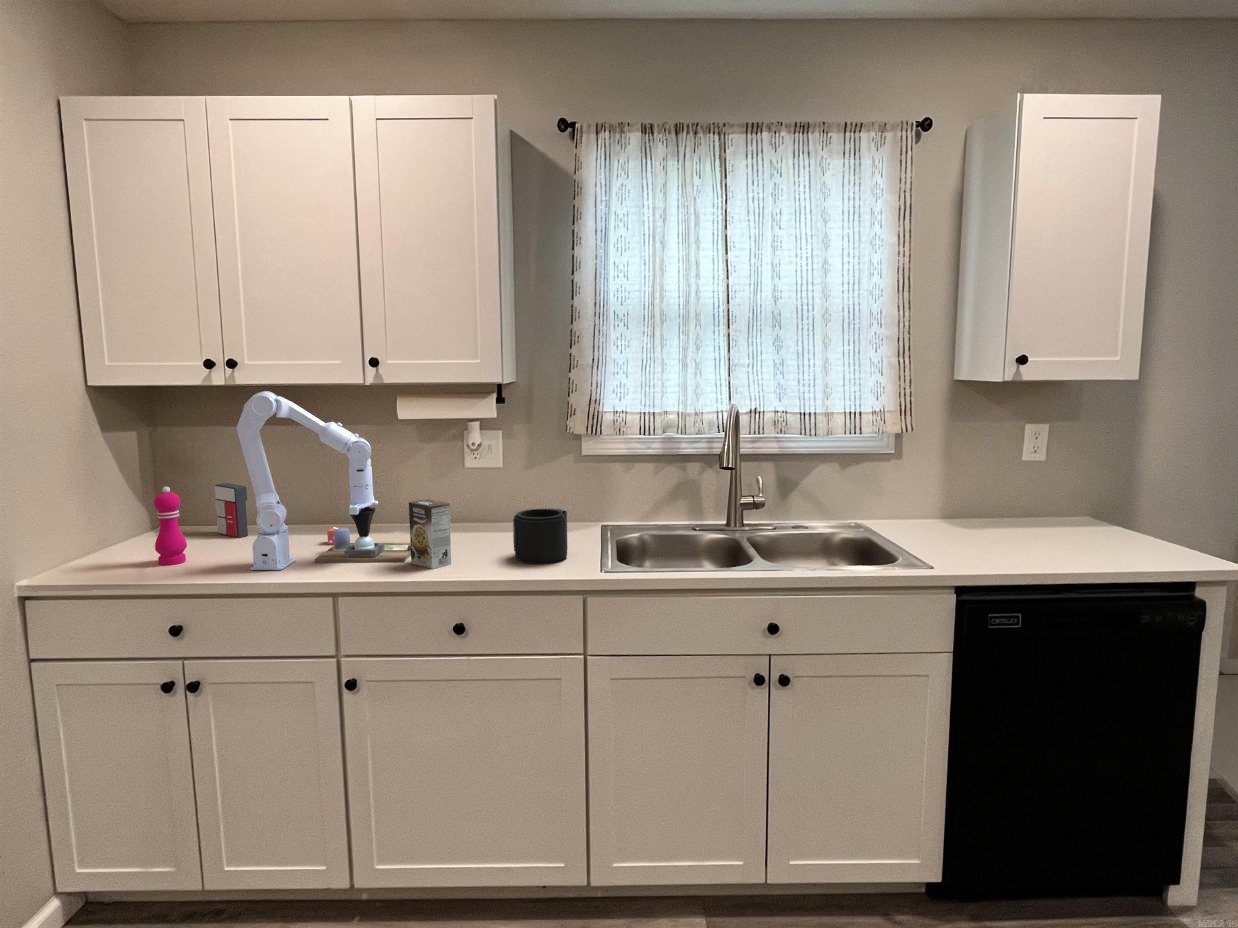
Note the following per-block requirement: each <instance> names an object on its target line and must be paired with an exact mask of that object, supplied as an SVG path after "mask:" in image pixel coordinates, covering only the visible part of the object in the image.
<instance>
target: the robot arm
mask: <svg viewBox="0 0 1238 928" xmlns="http://www.w3.org/2000/svg"><path fill="white" fill-rule="evenodd" d="M275 414H276V415H275ZM274 415H275V417H276V418H284V419H285V418H288V419H291V420H293V421H295V422H297V423H298V424H300V425H302V426H304V427H306V428H308V429H310V430H312V431H313V432H315V433H317V434H318V437H319V440H320V442H322V443H323V444H326V445H327V446H329V447H331V448H332V449H334V450H336V451H337V452H339V453H341V454H346V456H347V458H348V459H349V468H348V477H349V479H348V481H349V494H350V495H349V498H350V502H349V507H348V509H349V515H350V517H351V518H352V520H353V522H354V524H355V527H356V531H357V534H358V537H367V536H369V537H370V532H371V531H370V530H371V524H372V520H373V517H374V515H375V512H376V507H372V506H376V505H378V504H379V501H378V500H375V496H374V487H373V486H374V485H373V482H374V481H373V468H372V466H371V465H372V460H371V457H372V447H371V445H370V442H368V441H367V440H366V439H365V437H359V436H360V435H359V434H358V433H353V432H351V431H349V430H348V429H346V428H344V427H343V424H342V423H341V422H337V423H336V422H334V421H330V422H324V421H322V419H319V418H318V417H316V416H315V415H313V414H311V412H308V411H307V410H306V409H304V408H302V407H301V406H299V405H298V404H296V403H295V402H293V401H290V400H289V399H286V398H285V397H283V396H279V395H276V393H274V392H271V391H268V390H264V391H260V392H257V393H255V394H254V395H252V396H251V397H250V398H249V399H248V400H247V401H246V402H245V403H244V406H243V409H242V412H241V414H240V417H239V421H238V422H237V425H236V432H237V436H238V439H239V443H240V447H241V449H242V454H243V457H244V461H245V463H246V468H247V471H248V474H249V478H250V482H251V485H252V489H253V492H254V497H255V506H256V509H257V515H256V519H255V522H256V526H257V527H258V528H257V531H256V532H257V533H256V534H257V537H256V538H255V540H254V541H253V543H252V558H253V566H251V567H250V568H249V569H250V570H252V571H263V570H265V571H269V570H270V571H272V570H273V571H275V570H277V571H278V570H284V569H285V568H286V567H288V566H290V565H292V564H293V563H294V562H296V561H297V558H293V557H292V558H291V554H290V539H289V538H290V536H289V526H287V525H286V524H285V520H286V519H287V517H288V513H287V512H288V511H287V509H286V507H285V506H284V504H282V502H281V500H280V497H279V495H278V493H277V491H276V488H275V484H274V481H273V478H272V477H273V476H272V474H271V469H270V467H269V464H268V463H269V462H268V459H267V456H266V453H265V452H266V451H265V448H264V445H263V441H262V437H261V433H260V430H262V428H263V426H264V425H265V423H266V422H267V420H268V419H269V418H271V417H273V416H274ZM370 506H371V507H370Z"/></svg>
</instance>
